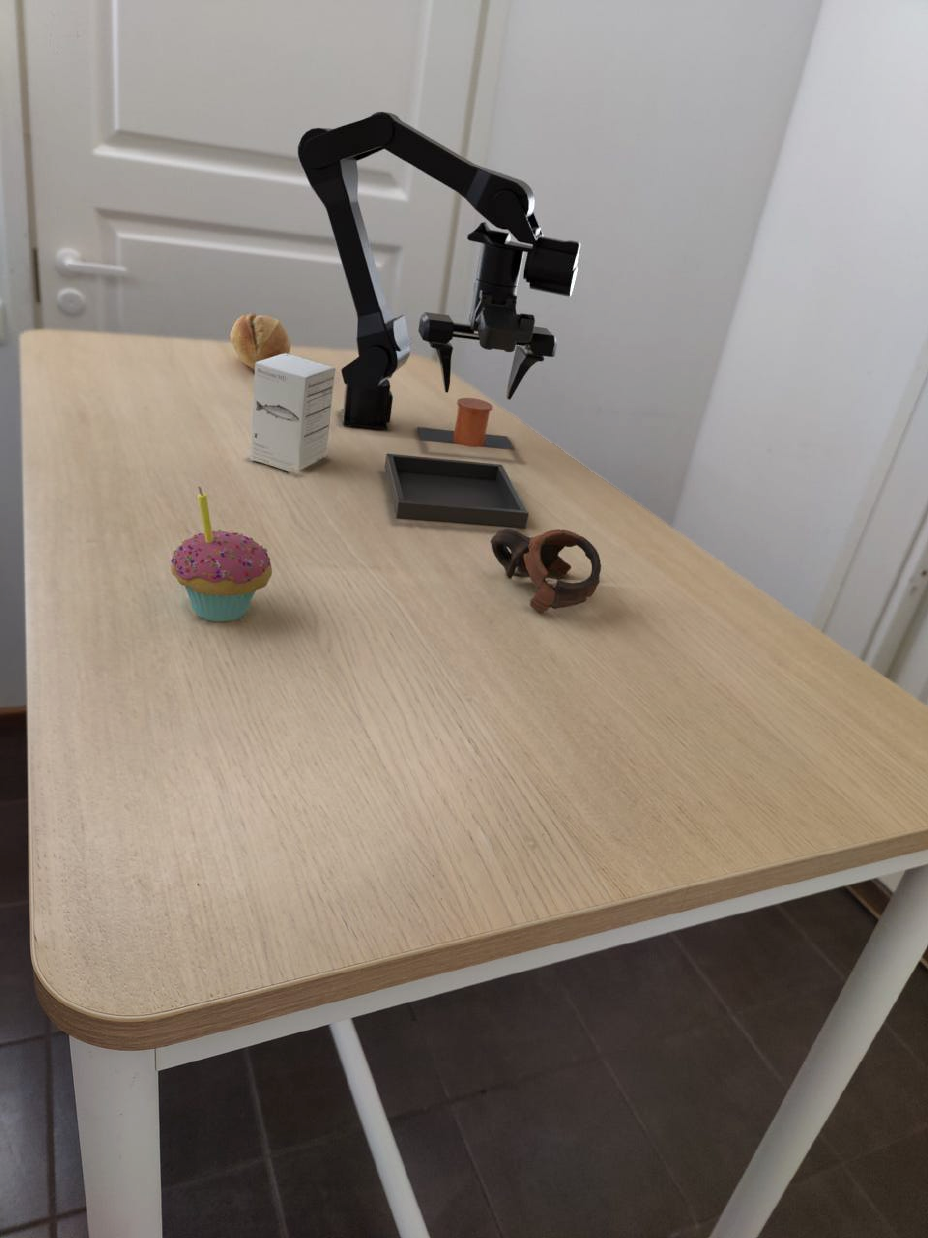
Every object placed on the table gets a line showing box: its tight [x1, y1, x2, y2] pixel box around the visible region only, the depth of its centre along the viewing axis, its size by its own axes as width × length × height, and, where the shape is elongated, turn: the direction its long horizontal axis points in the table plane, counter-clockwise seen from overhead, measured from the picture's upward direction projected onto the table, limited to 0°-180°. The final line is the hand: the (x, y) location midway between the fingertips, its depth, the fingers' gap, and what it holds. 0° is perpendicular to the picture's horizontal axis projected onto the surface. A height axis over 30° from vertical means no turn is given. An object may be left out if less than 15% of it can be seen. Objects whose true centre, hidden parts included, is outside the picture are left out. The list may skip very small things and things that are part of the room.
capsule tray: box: [384, 453, 529, 530], centre depth 110 cm, size 16×16×3 cm
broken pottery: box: [490, 528, 602, 614], centre depth 92 cm, size 12×10×8 cm
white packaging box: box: [249, 353, 336, 472], centre depth 110 cm, size 7×7×13 cm
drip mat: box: [416, 426, 515, 451], centre depth 130 cm, size 14×10×1 cm
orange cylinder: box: [453, 397, 494, 448], centre depth 128 cm, size 5×5×6 cm
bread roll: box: [230, 313, 291, 371], centre depth 146 cm, size 10×15×8 cm, turn 19°
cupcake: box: [171, 485, 273, 623], centre depth 77 cm, size 9×8×12 cm
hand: (477, 395), depth 126 cm, fingers open, 9 cm apart
